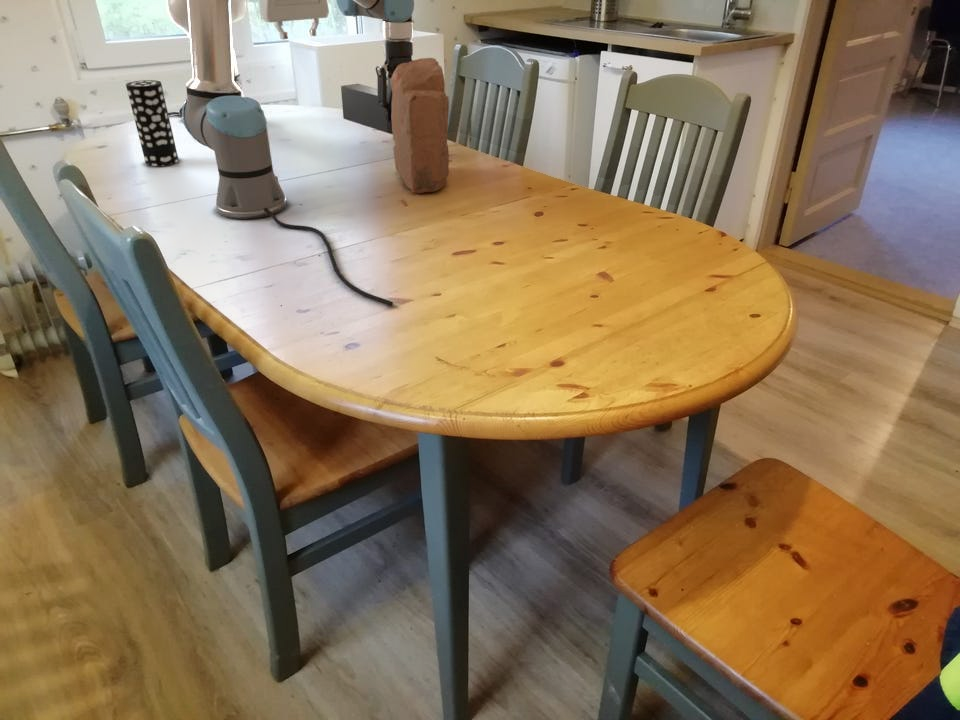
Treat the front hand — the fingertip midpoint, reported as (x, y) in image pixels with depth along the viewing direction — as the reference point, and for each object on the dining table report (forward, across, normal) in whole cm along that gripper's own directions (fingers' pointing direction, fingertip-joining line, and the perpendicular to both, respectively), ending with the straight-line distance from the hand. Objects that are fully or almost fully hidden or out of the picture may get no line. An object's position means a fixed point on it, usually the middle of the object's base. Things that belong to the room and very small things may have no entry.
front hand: (401, 131), depth 190 cm
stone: (+7, +9, +20) cm, 23 cm away
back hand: (-20, +7, -38) cm, 43 cm away
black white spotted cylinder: (-2, +52, -39) cm, 65 cm away
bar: (0, 0, -10) cm, 10 cm away
